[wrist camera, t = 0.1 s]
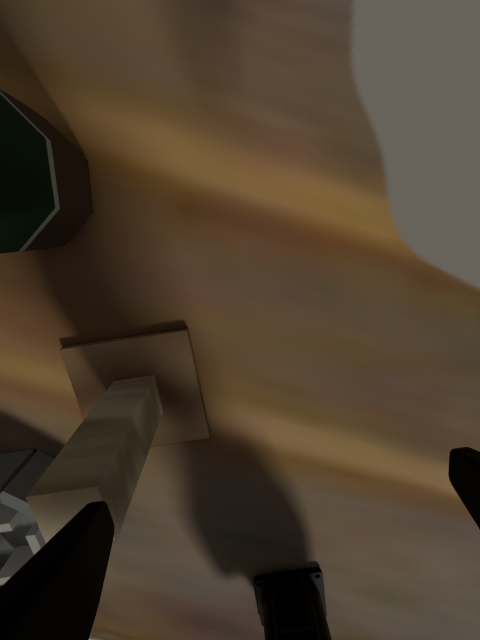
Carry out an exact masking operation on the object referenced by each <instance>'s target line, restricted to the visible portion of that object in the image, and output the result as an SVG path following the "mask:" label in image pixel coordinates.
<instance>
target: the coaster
mask: <svg viewBox="0 0 480 640" xmlns="http://www.w3.org/2000/svg"><path fill="white" fill-rule="evenodd" d="M60 351H61V354H62V357H63V360H64V363H65V366H66V369H67V372H68V375H69V378H70V381H71V383H72V386H73V389H74V392H75V395H76V398H77V401H78V404H79V407H80V410H81V413H82V416H83V418H84V419H85V418H86V417H87V416H88V414H89V413H90V412H91V410H92V409H93V408H94V406H95V405H96V404H97V402H98V401H99V400H100V398H101V397H102V396H103V395H104V393H105V392H106V391H107V389H108V388H109V387H110V385H111V384H112V383H113V381H119V380H126V379H132V378H139V377H145V376H152V375H154V376H155V380H156V384H157V388H158V392H159V396H160V400H161V404H162V407H163V413H162V416H161V419H160V421H159V424H158V427H157V430H156V432H155V435H154V438H153V441H152V444H151V446H150V447H154V446H161V445H167V444H174V443H181V442H187V441H194V440H201V439H207V438H210V431H209V426H208V421H207V416H206V411H205V406H204V402H203V397H202V392H201V387H200V382H199V378H198V373H197V368H196V363H195V358H194V354H193V349H192V344H191V339H190V334H189V330H188V328H182V329H175V330H168V331H162V332H155V333H149V334H142V335H136V336H129V337H123V338H116V339H110V340H103V341H96V342H90V343H83V344H77V345H70V346H64V347H63V348H61V349H60Z"/></svg>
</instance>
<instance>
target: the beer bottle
mask: <svg viewBox="0 0 480 640" xmlns="http://www.w3.org/2000/svg"><path fill="white" fill-rule="evenodd" d="M92 213H93V208H92V199H91V189H90V180H89V171H88V162H87V160H86V159H85V158H84V157H83V156H82V155H81V154H80V153H79V152H78V151H77V150H76V149H75V148H74V147H73V146H72V145H71V144H70V143H69V142H68V141H67V140H66V139H65V138H64V137H63V136H62V135H61V134H60V133H59V132H58V131H57V130H56V129H55V128H54V127H53V126H52V125H51V124H50V123H49V122H48V121H47V120H46V119H44V118H43V117H42V116H40V115H39V114H37V113H36V112H35V111H33V110H32V109H31V108H29V107H28V106H26V105H25V104H23V103H21V102H20V101H18V100H17V99H15V98H13V97H12V96H10V95H8V94H7V93H5V92H4V91H2V90H0V253H8V252H18V251H28V250H38V249H48V248H53V247H58V246H63V245H65V244H66V242H67V241H68V240H69V239H70V238H71V237H72V236H73V234H74V233H75V232H76V231H77V230H78V229H79V228H80V226H81V225H82V224H83V223H84V222H85V221H86V220H87V218H88V217H89V216H90V215H91V214H92Z"/></svg>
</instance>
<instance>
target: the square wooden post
mask: <svg viewBox="0 0 480 640" xmlns="http://www.w3.org/2000/svg"><path fill="white" fill-rule="evenodd" d="M162 413H163V407H162V404H161V400H160V396H159V392H158V388H157V384H156V380H155V376H154V375H152V376H145V377H139V378H132V379H126V380H119V381H113V383H112V384H111V385H110V387H109V388H108V389H107V391H106V392H105V393H104V395H103V396H102V397H101V398H100V400H99V401H98V402H97V404H96V405H95V406H94V408H93V409H92V410H91V412H90V413H89V414H88V416H87V417H86V418H85V419H84V421H83V422H82V423H81V425H80V426H79V427H78V429H77V430H76V431H75V433H74V434H73V435H72V437H71V438H70V439H69V441H68V442H67V443H66V444H65V446H64V447H63V448H62V450H61V451H60V452H59V454H58V455H57V456H56V458H55V459H54V460H53V462H52V463H51V464H50V465H49V467H48V468H47V469H46V471H45V472H44V473H43V475H42V476H41V477H40V479H39V480H38V481H37V483H36V484H35V485H34V487H33V488H32V489H31V490H30V492H29V493H28V494H27V496H26V500H27V502H28V504H29V506H30V509H31V511H32V513H33V515H34V518H35V520H36V522H37V524H38V527H39V529H40V531H41V533H42V536H43V538H44V540H45V542H46V543H47V542H48V541H49V540H50V539H51V538H52V537H53V536H54V535H55V534H56V533H57V532H58V531H59V530H61V529H62V528H63V527H64V526H65V525H66V524H67V523H68V522H69V521H70V520H71V519H72V518H73V517H74V516H75V515H76V514H77V513H78V512H79V511H80V510H81V509H82V508H83V507H84V506H86V505H87V504H88V503H90V502H96V501H105V502H106V503H107V505H108V507H109V510H110V513H111V516H112V519H113V522H114V527H115V531H114V537H113V541H117V538H118V535H119V532H120V529H121V527H122V524H123V521H124V518H125V516H126V513H127V510H128V507H129V505H130V502H131V499H132V496H133V493H134V491H135V488H136V485H137V482H138V480H139V477H140V474H141V471H142V468H143V466H144V463H145V460H146V457H147V455H148V452H149V449H150V446H151V444H152V441H153V438H154V435H155V432H156V430H157V427H158V424H159V421H160V419H161V416H162Z"/></svg>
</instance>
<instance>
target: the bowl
mask: <svg viewBox="0 0 480 640" xmlns="http://www.w3.org/2000/svg"><path fill="white" fill-rule="evenodd" d="M54 459H55V458H54V457H52V456H50V455H48V454H46V453H44V452H42V451H40V450H38V451H37V452H36V453H35V451H34V449H29V450H23V451H16V452H9V453H3V454H0V587H1V586H2V585H3V584H4V583H5V582H6V581H7V580H8V579H10V578H11V577H12V576H13V575H14V574H15V573H16V572H17V571H18V570H19V569H20V568H21V567H22V566H23V565H24V564H25V563H26V562H27V561H28V560H29V559H30V558H31V557H32V556H33V555H34V554H36V553H37V552H38V551H39V550H40V549H41V548H42V547H43V546H44V545H45V544H46V542H45V540H44V538H43V536H42V533H41V531H40V529H39V527H38V524H37V522H36V520H35V518H34V515H33V513H32V511H31V509H30V506H29V504H28V502H27V500H26V496H27V494H28V493H29V492H30V490H31V489H32V488H33V487H34V485H35V484H36V483H37V481H38V480H39V479H40V477H41V476H42V475H43V473H44V472H45V471H46V469H47V468H48V467H49V465H50V464H51V463H52V462H53V460H54Z"/></svg>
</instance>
